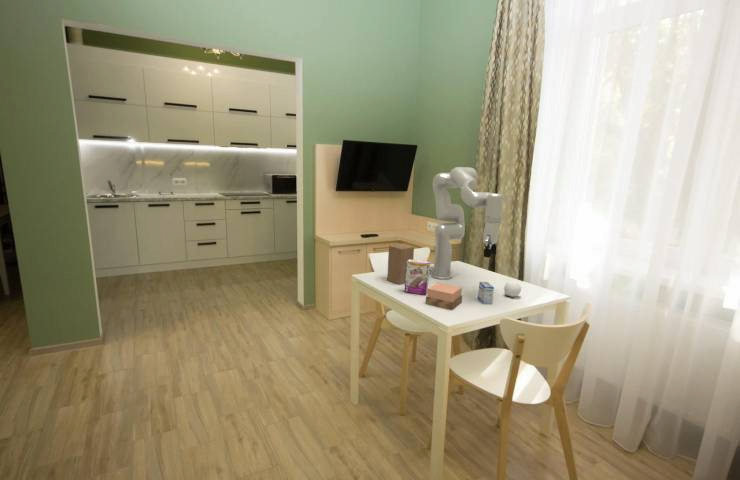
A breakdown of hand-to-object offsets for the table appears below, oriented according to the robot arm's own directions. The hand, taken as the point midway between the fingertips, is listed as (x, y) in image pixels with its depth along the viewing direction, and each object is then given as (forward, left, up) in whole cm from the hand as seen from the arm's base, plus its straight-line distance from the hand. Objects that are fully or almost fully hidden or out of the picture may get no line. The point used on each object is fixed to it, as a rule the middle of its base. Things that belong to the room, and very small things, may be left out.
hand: (489, 255), depth 181 cm
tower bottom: (-15, -17, -23) cm, 32 cm away
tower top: (-15, -17, -19) cm, 30 cm away
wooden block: (-48, 0, -23) cm, 53 cm away
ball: (+9, +14, -23) cm, 28 cm away
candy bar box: (-32, -12, -23) cm, 41 cm away
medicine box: (0, -2, -23) cm, 23 cm away
